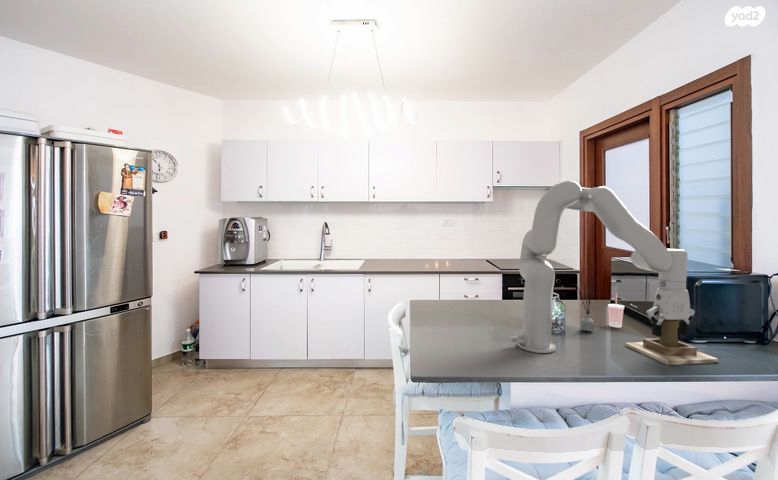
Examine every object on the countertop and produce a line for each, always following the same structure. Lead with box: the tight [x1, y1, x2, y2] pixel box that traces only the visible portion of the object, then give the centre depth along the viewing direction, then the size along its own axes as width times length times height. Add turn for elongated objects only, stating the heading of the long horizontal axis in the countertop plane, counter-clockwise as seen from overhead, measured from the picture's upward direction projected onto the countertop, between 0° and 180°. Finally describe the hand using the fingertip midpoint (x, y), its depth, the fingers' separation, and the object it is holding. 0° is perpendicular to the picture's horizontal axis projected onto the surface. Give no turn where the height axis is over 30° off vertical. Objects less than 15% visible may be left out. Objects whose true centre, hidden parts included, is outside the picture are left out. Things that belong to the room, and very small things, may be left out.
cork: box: [658, 319, 680, 347], centre depth 128 cm, size 6×6×11 cm
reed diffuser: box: [576, 281, 595, 332], centre depth 154 cm, size 10×7×20 cm
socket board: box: [624, 337, 719, 366], centre depth 129 cm, size 18×18×4 cm
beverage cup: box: [607, 293, 625, 329], centre depth 162 cm, size 6×6×14 cm
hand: (669, 335), depth 128 cm, fingers open, 9 cm apart
